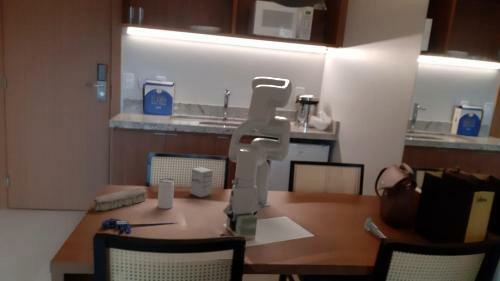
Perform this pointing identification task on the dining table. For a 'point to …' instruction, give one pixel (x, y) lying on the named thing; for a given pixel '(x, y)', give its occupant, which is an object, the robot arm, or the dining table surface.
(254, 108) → the robot arm
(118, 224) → the bar clamp
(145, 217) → the dining table surface
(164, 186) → the can
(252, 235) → the block
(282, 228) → the board
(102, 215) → the dining table surface
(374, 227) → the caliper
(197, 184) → the supplement box
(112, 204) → the shoe brush
